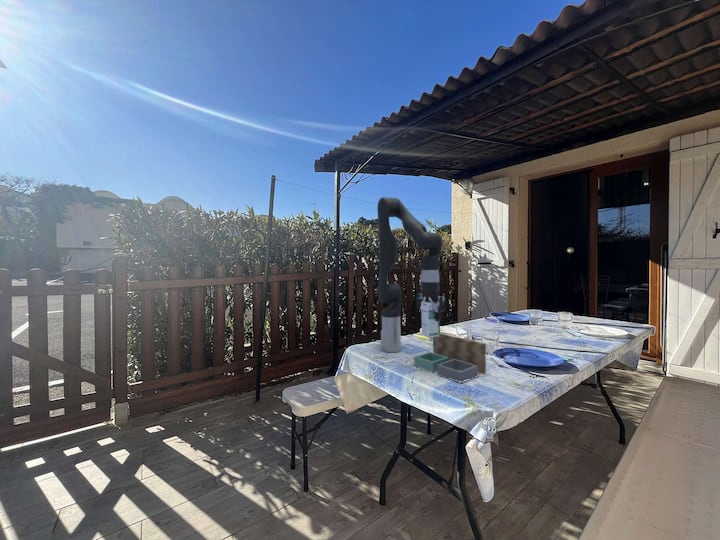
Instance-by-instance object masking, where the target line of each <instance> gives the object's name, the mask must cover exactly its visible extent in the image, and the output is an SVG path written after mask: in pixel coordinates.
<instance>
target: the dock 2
mask: <svg viewBox="0 0 720 540" xmlns="http://www.w3.org/2000/svg"><path fill="white" fill-rule="evenodd" d="M455 369H456V370H455ZM458 370H460V371H458ZM437 374H438V375H437ZM436 375H437V376H439V375H441V376H440V377H442V376H445V377H448V378H451V379H454V380H457V381H461V382H462V381H464V380H467V379H470V378H472V377H475V376H477V375H478V376H479V373H478V366H477V365H474V364H470V363H467V362H464V361H460V360H457V359H452V360H449V361H446V362H443V363H441V364H438V365H437V371H436ZM478 376H477V377H478ZM445 377H444V378H445ZM475 378H476V377H475ZM472 379H473V378H472ZM470 380H471V379H470Z"/></svg>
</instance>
